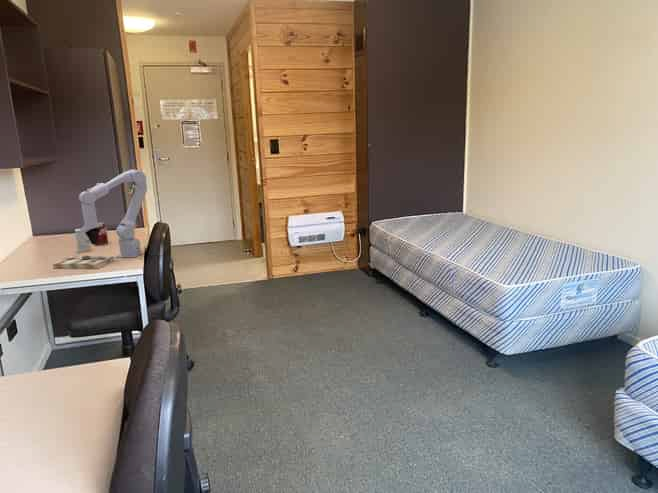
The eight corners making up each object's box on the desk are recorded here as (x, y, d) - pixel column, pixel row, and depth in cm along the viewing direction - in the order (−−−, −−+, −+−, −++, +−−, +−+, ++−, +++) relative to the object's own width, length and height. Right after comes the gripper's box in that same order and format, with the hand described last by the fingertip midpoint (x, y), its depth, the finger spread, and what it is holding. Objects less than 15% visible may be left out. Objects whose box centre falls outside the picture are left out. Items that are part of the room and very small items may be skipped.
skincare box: (79, 253, 255) (75, 230, 252) (77, 251, 259) (74, 229, 256) (91, 251, 258) (88, 229, 255) (90, 249, 262) (87, 227, 259)
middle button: (91, 259, 235) (90, 255, 234) (87, 260, 232) (86, 257, 231) (85, 258, 235) (84, 255, 235) (81, 260, 232) (80, 257, 232)
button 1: (76, 260, 236) (76, 257, 236) (72, 262, 233) (71, 259, 233) (70, 260, 237) (70, 257, 236) (66, 262, 233) (65, 259, 233)
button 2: (106, 261, 234) (106, 257, 233) (102, 263, 231) (102, 259, 230) (100, 261, 234) (100, 257, 234) (96, 262, 231) (96, 259, 231)
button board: (113, 261, 236) (113, 255, 236) (97, 269, 224) (96, 263, 223) (71, 260, 240) (70, 255, 239) (53, 268, 227) (52, 262, 227)
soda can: (91, 245, 271) (88, 224, 268) (101, 242, 277) (98, 222, 274) (101, 246, 268) (98, 225, 265) (111, 243, 275) (108, 222, 272)
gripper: (91, 214, 239) (95, 240, 242) (72, 219, 225) (77, 247, 228) (104, 213, 238) (108, 240, 241) (86, 219, 224) (91, 247, 227)
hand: (94, 244), depth 234 cm, fingers closed
